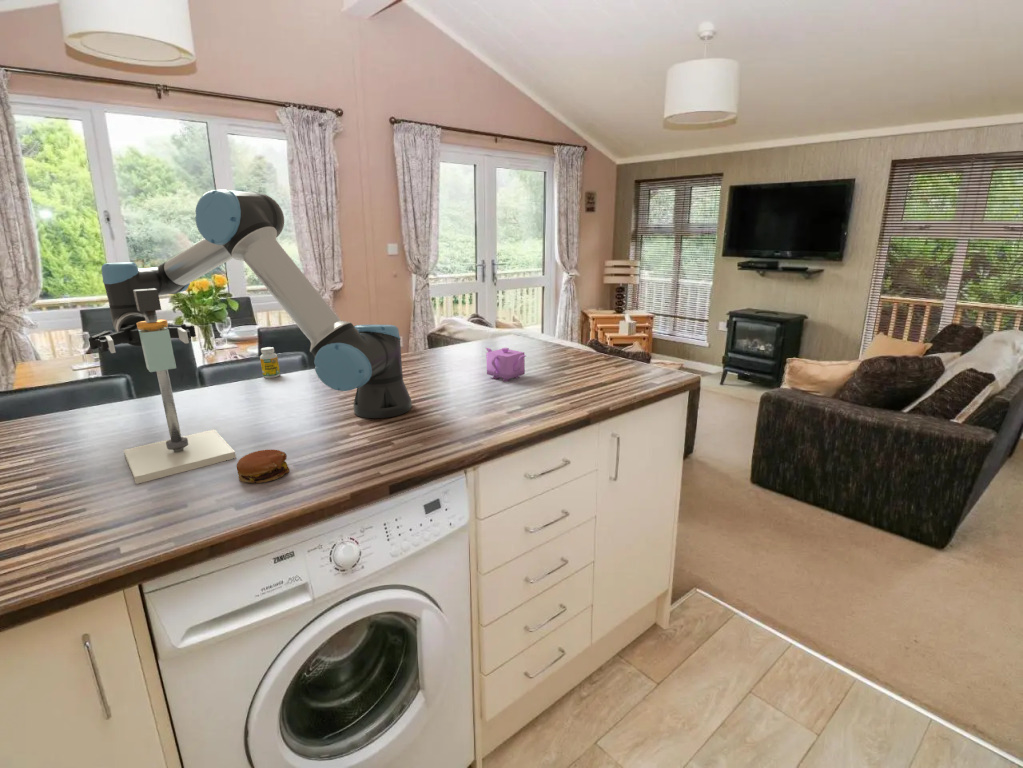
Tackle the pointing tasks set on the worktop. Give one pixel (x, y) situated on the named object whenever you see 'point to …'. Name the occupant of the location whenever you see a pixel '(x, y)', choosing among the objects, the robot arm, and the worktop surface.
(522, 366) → the teapot
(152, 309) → the metal rod
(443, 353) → the worktop surface
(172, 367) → the teal sleeve
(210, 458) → the cream stand base
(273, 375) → the supplement bottle
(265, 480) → the burger
